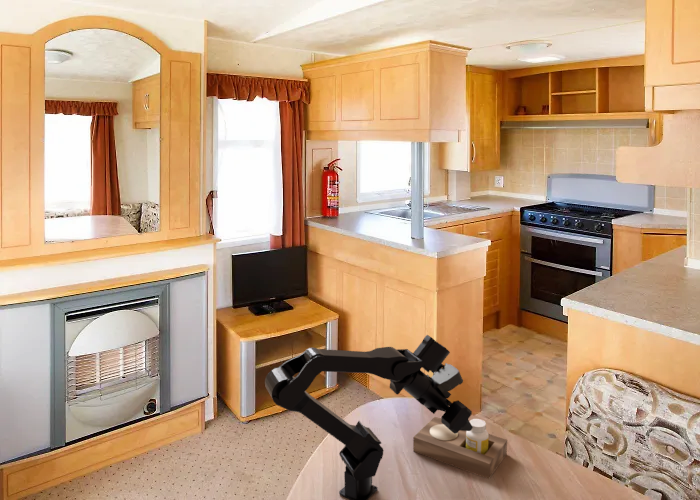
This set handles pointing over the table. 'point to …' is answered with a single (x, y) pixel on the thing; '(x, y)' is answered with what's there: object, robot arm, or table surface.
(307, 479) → the table surface
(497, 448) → the pocket block
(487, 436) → the supplement bottle
